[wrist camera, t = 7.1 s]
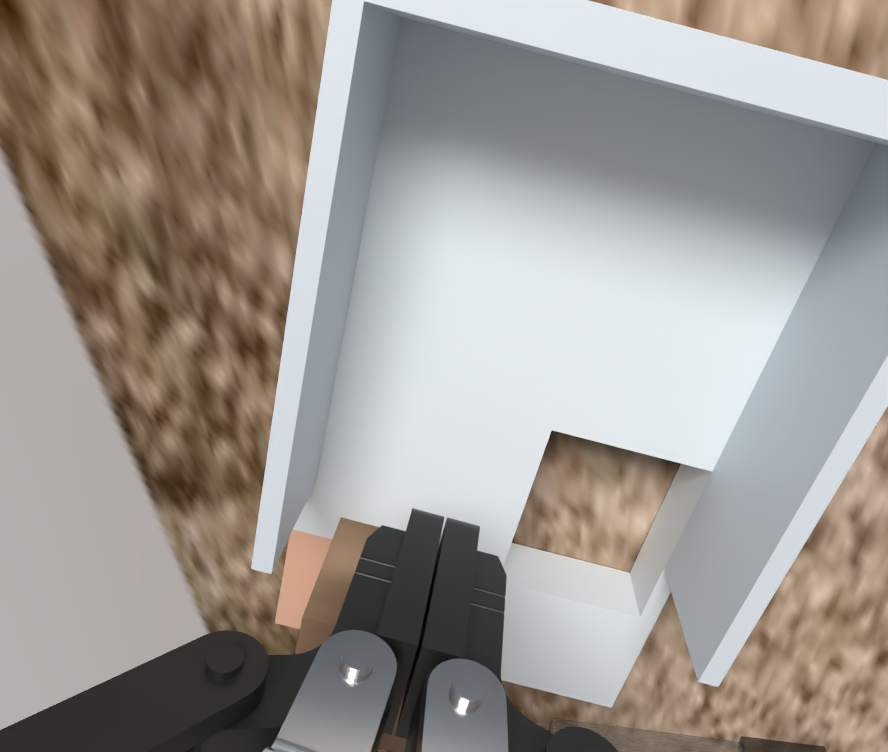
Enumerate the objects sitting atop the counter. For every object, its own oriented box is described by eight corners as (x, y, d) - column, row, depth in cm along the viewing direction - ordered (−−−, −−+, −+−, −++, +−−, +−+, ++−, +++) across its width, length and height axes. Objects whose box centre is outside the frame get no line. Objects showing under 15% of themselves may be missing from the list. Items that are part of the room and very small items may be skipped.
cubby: (871, 105, 16) (1057, 125, 10) (603, 659, 24) (630, 832, 19) (401, -20, 16) (341, -65, 10) (292, 581, 24) (227, 732, 18)
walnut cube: (470, 550, 20) (460, 657, 16) (439, 644, 22) (424, 759, 18) (340, 517, 20) (302, 616, 16) (319, 613, 22) (280, 723, 18)
